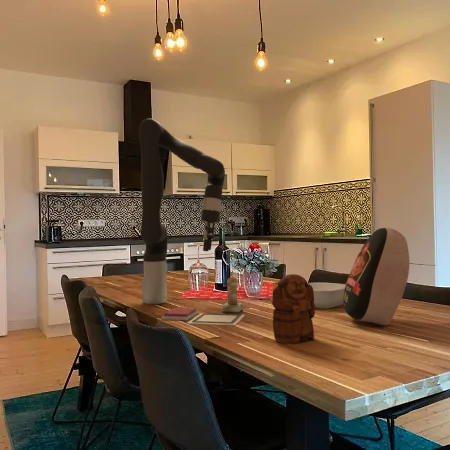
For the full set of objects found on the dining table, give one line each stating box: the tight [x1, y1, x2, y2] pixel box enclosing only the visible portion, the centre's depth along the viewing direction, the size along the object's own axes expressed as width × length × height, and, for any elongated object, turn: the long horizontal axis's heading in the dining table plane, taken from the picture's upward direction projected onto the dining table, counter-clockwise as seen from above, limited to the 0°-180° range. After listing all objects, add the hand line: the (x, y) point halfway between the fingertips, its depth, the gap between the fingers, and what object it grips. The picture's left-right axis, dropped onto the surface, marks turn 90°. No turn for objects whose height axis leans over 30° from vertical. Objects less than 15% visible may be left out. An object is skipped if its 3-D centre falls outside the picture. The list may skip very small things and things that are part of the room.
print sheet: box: [186, 312, 246, 327], centre depth 155 cm, size 16×16×1 cm
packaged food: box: [342, 227, 410, 326], centre depth 147 cm, size 22×20×30 cm
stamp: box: [222, 276, 243, 314], centre depth 169 cm, size 6×6×13 cm
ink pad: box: [161, 307, 199, 321], centre depth 161 cm, size 9×12×2 cm
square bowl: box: [307, 282, 346, 310], centre depth 179 cm, size 20×20×8 cm
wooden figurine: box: [271, 273, 316, 345], centre depth 126 cm, size 12×6×18 cm, turn 120°
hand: (206, 250), depth 183 cm, fingers open, 8 cm apart
